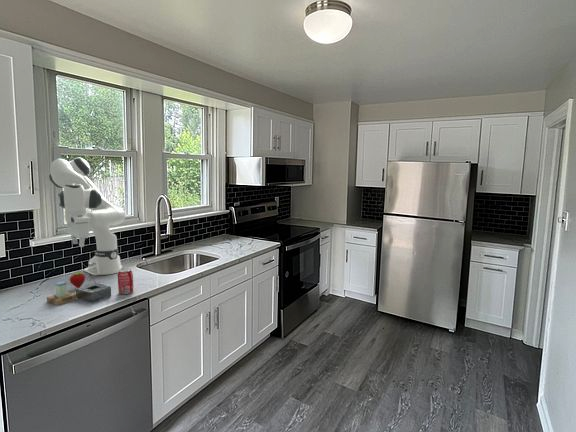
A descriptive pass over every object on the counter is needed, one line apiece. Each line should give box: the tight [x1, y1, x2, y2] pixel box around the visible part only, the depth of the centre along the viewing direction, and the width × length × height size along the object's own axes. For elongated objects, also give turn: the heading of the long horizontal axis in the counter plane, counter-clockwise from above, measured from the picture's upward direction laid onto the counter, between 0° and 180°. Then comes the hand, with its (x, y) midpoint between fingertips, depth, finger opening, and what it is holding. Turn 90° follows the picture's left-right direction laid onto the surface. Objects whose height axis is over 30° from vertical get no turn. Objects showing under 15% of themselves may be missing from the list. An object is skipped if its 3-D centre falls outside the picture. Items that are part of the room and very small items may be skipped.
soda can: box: [117, 268, 134, 295], centre depth 171 cm, size 7×7×12 cm
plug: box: [54, 281, 68, 298], centre depth 159 cm, size 3×3×9 cm
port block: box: [75, 282, 112, 304], centre depth 164 cm, size 12×10×5 cm
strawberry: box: [69, 269, 86, 288], centre depth 175 cm, size 6×8×10 cm
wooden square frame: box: [46, 291, 77, 306], centre depth 159 cm, size 9×9×2 cm
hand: (78, 245), depth 162 cm, fingers open, 8 cm apart
